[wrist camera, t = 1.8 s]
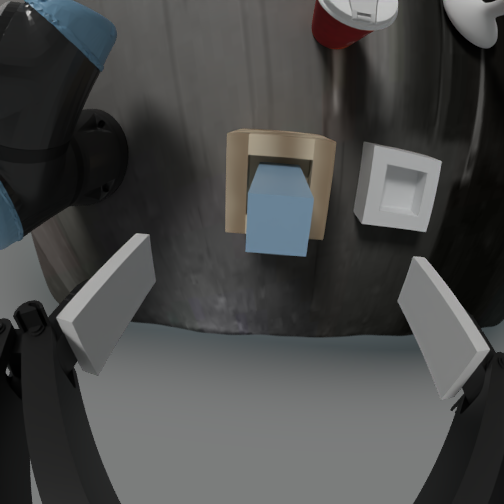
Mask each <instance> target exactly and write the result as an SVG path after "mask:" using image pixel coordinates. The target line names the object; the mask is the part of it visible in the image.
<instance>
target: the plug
mask: <svg viewBox="0 0 504 504" xmlns="http://www.w3.org/2000/svg"><path fill="white" fill-rule="evenodd" d="M313 203H314V197H313V195H312V193H311V190H310V188H309V186H308V183H307V181H306V179H305V176H304V174H303V172H302V170H301V167H300V165H295V164H284V163H271V162H260V163H259V166H258V168H257V171H256V173H255V176H254V179H253V181H252V184H251V186H250V189H249V192H248V204H247V229H246V252H254V253H261V254H269V255H281V256H290V255H291V256H304V257H306V253H307V246H308V240H309V233H310V226H311V218H312V211H313Z"/></svg>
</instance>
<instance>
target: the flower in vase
mask: <svg viewBox="0 0 504 504" xmlns="http://www.w3.org/2000/svg"><path fill="white" fill-rule="evenodd" d="M443 4H444V8H445V11H446V13H447V15H448V17H449V19H450V21H451V22H452V24H453V25H454V26H455V28H456V29H457V30H458V31H459V32H460V34H461V35H463V36H464V37H465V38H466V39H467V40H468V41H470V42H471V43H473V44H474V45H476V46H478V47H481V48H490V47H492V46H493V45H494V44H495V43H496V41H497V25H496V21H495V18H496V17H498V16H501V15H504V0H496V1H494V2H490V3H484V2H483V1H482V0H443Z"/></svg>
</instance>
